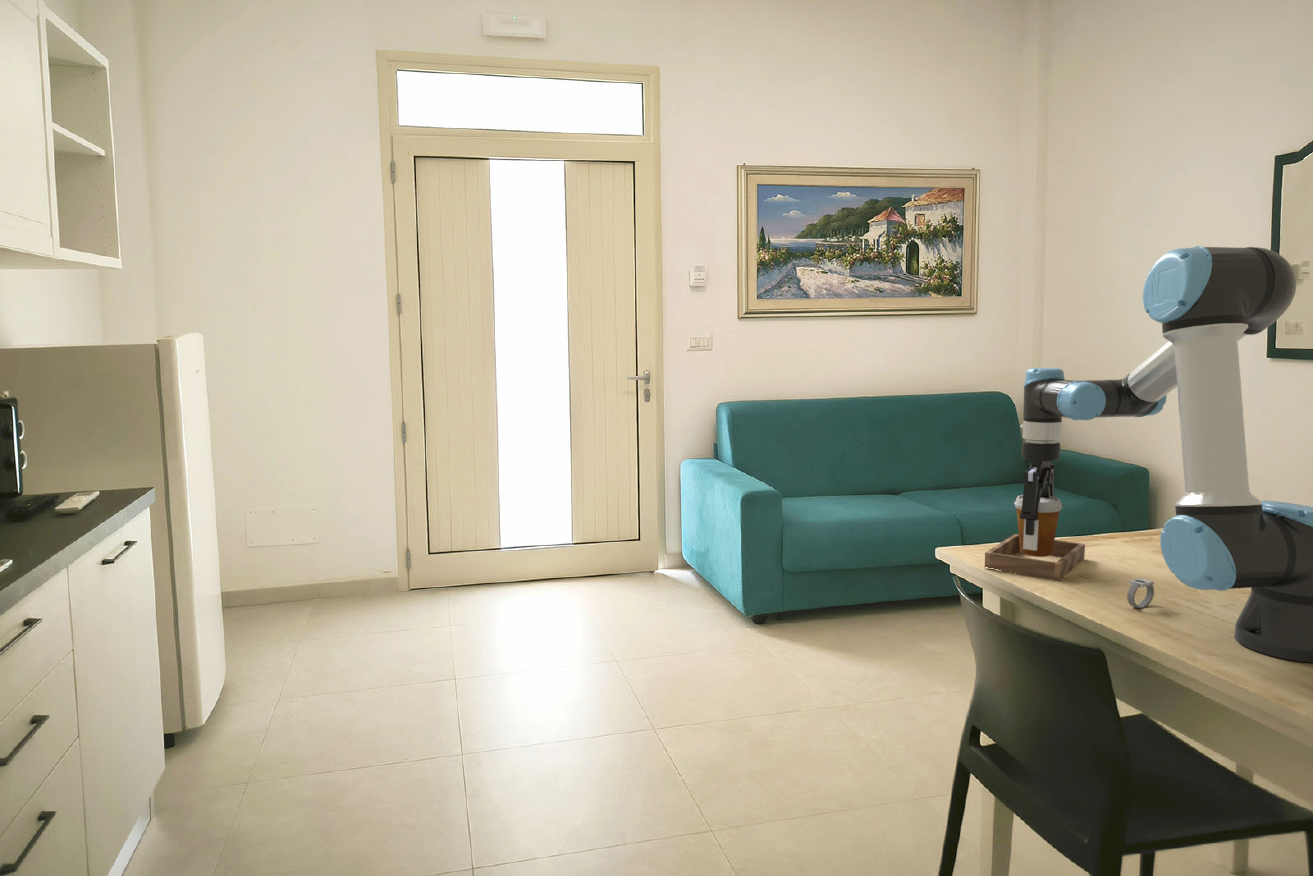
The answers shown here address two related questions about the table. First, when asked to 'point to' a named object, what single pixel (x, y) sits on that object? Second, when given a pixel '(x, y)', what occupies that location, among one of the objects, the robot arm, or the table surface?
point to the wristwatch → (1133, 588)
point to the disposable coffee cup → (1041, 525)
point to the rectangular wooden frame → (1055, 571)
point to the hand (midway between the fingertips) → (1036, 544)
